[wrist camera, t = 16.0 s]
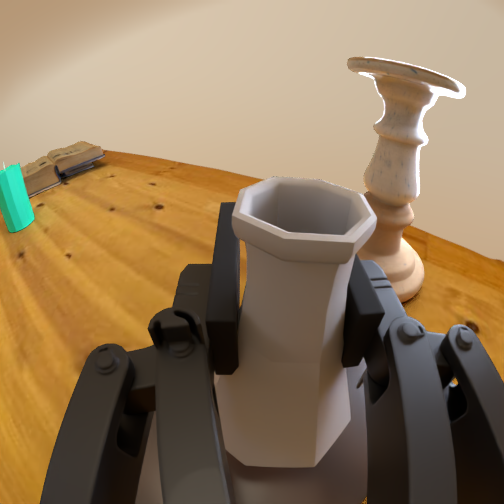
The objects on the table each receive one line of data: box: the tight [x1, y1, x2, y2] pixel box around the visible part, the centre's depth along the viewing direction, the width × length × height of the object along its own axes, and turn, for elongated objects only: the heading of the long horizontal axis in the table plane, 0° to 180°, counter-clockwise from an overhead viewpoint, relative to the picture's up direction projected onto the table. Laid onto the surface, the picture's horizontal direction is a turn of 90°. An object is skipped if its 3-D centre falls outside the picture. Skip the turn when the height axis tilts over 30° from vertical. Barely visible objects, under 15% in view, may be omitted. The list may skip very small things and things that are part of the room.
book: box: [21, 141, 105, 197], centre depth 54 cm, size 25×17×6 cm
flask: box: [214, 176, 377, 468], centre depth 9 cm, size 7×7×10 cm
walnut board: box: [135, 357, 368, 504], centre depth 14 cm, size 20×15×2 cm
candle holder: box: [347, 57, 466, 303], centre depth 22 cm, size 12×12×20 cm
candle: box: [0, 163, 35, 233], centre depth 33 cm, size 6×6×12 cm
